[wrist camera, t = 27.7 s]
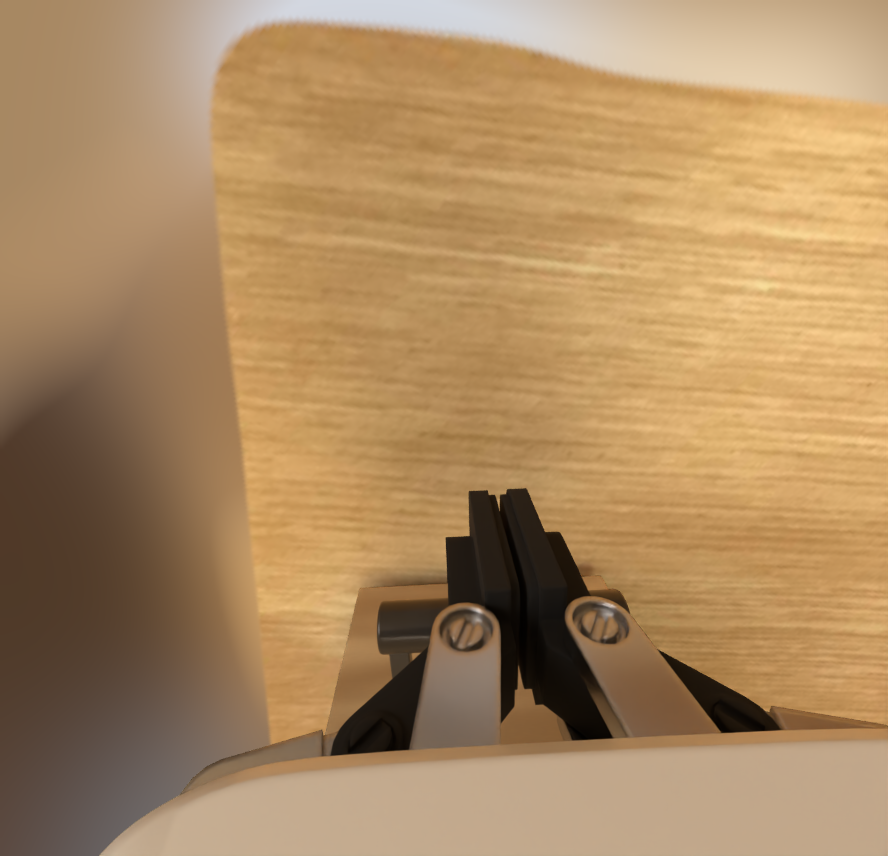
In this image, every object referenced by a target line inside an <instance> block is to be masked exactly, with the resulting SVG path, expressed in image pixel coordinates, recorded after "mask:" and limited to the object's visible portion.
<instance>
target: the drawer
mask: <svg viewBox="0 0 888 856" xmlns="http://www.w3.org/2000/svg"><path fill="white" fill-rule="evenodd" d="M582 578H583V581H584V583H585V585H586V587H587V589H588V591H589V593H590V595H591V596H595V597H601V598H605V599H608V600H610V601H613V602H615V603H617V604H618V605H620V606H621V607H623V608H624V609H625V610H626V611H627V612H628V613H629V614H630V612H629V608H628V605H627V603H626V601H625V598H624V597H623V595H622V594H621V592H620V591H618V590H616V589H608V588H607V586H606V584H605V582H604V581H603V579H602V577H601V576H585V577H582ZM447 607H449V606H448V584H430V585H410V586H391V587H371V588H360V589H359V592H358V597H357V601H356V605H355V609H354V614H353V618H352V622H351V626H350V631H349V635H348V639H347V643H346V648H345V652H344V656H343V660H342V664H341V669H340V673H339V677H338V681H337V686H336V690H335V694H334V698H333V703H332V707H331V711H330V715H329V719H328V724H327V728H326V732H325V735H327V734H330V733H334V732H337V731H339V729H340V728H341V726H342V725H343V724H344V723H345V722H346V721H347V720H348V718H349V717H350V716H352V715H353V714H354V713H355V712H356V711H357V710H358V709H359V708H360V707H362V706H363V705H364V704H365V703H366V702H367V701H368V700H369V699H370V698H372V697H373V696H374V695H375V694H376V693H377V692H378V691H379V690H380V689H382V688H383V687H384V686H385V685H386V684H387V683H388V682H389V681H390V680H392V679H393V678H394V677H395V676H396V675H397V674H398V673H399V672H400V671H402V670H403V669H404V668H405V667H406V666H407V665H408V664H409V663H410V662H412V661H413V660H414V659H415V658H416V657H417V656H418V655H419V654H420V653H422V652H423V651H424V650H425V649H426V648H427V647H428V646H429V642H430V637H431V632H432V626H433V624H434V621H435V618H436V617H437V616H438V615H439V613H440V612H441V611H442V610H444V609H446V608H447ZM559 741H564V740H563V738H562V735H561V733H560V731H559V727H558V723H557V715H556V714H555V713H553V712H552V711H551V710H549V709H548V708H547V707H545V706H544V705H535V701H534V697H533V693H532V689H524V687H523V684H522V679H521V674H520V670H519V665H518V689H517V690H515V706H514V708H513V709H512V710H511V712H510V713H509V714H508V715H507V717H506V718H505V719H504V721H503V722H502V723H501V745H504V744H522V743H540V742H559Z"/></svg>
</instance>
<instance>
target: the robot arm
mask: <svg viewBox="0 0 888 856" xmlns="http://www.w3.org/2000/svg"><path fill="white" fill-rule="evenodd" d="M469 527H470V536H464V537H446V557H447V581H448V606H449V607H447V608H446V609H444V610H442V611H441V612H440V613H439V615H438V616H437V617H436V618H435V621H434V624H433V626H432V632H431V637H430V642H429V646H428V647H427V648H426V649H425V650H424V651H423V652H422V653H420V654H419V655H418V656H417V657H416V658H415V659H414V660H413V661H412V662H410V663H409V664H408V665H407V666H406V667H405V668H404V669H403V670H402V671H400V672H399V673H398V674H397V675H396V676H395V677H394V678H393V679H392V680H390V681H389V682H388V683H387V684H386V685H385V686H384V687H383V688H382V689H380V690H379V691H378V692H377V693H376V694H375V695H374V696H373V697H372V698H370V699H369V700H368V701H367V702H366V703H365V704H364V705H363V706H362V707H360V708H359V709H358V710H357V711H356V712H355V713H354V714H353V715H352V716H350V717H349V718H348V720H347V721H346V722H345V723H344V724H343V725H342V726H341V728H340V729H339V731H337V732H334V733H330V734H327V735H324V736H323V732H322V730H319V731H316V732H313V733H309V734H306V735H303V736H299V737H296V738H292V739H289V740H286V741H282V742H279V743H275V744H272V745H269V746H265V747H262V748H259V749H255V750H252V751H249V752H245V753H242V754H238V755H235V756H231V757H228V758H225V759H221V760H219V761H217V762H215V763H213V764H211V765H209V766H207V767H205V768H204V769H203V770H202V771H201V772H199V773H198V774H197V775H196V776H195V777H193V778H192V779H191V781H190V782H189V784H188V785H187V786H186V787H185V788H184V790H183V791H182V792H181V794H180V796H178V797H175V798H174V799H172V800H170V801H168V802H167V803H165V804H163V805H161V806H160V807H158V808H156V809H154V810H153V811H151V812H150V813H148V814H147V815H146V816H144V817H142V818H141V819H139V820H138V821H136V822H135V823H134V824H133V825H131V826H130V827H129V828H128V829H126V830H125V831H124V832H123V833H122V834H120V835H119V836H118V837H117V838H116V839H115V840H114V841H113V842H112V843H111V844H110V845H109V846H108V847H107V848H106V849H105V850H104V851H103V852H102V853H101V854H100V855H99V856H888V726H887V725H884V724H878V723H872V722H866V721H860V720H854V719H848V718H841V717H835V716H829V715H823V714H817V713H811V712H805V711H799V710H793V709H787V708H781V707H775V706H771V709H770V712H766V711H764V710H763V709H762V708H761V707H760V706H758V705H757V704H755V703H754V702H752V701H751V700H749V699H748V698H746V697H745V696H743V695H741V694H739V693H737V692H735V691H733V690H732V689H730V688H728V687H726V686H724V685H722V684H720V683H719V682H717V681H715V680H713V679H711V678H709V677H708V676H706V675H704V674H702V673H700V672H698V671H696V670H695V669H693V668H691V667H689V666H687V665H685V664H684V663H682V662H680V661H678V660H676V659H674V658H672V657H671V656H669V655H667V654H665V653H663V652H661V651H660V650H658V649H656V647H655V646H654V645H653V643H652V642H651V641H650V639H649V638H648V637H647V635H646V634H645V633H644V632H643V630H642V629H641V628H640V626H639V625H638V624H637V622H636V621H635V620H634V618H633V617H632V616H631V615H630V614H629V613H628V612H627V611H626V610H625V609H624V608H623V607H621V606H620V605H618V604H617V603H615V602H613V601H610V600H608V599H605V598H601V597H595V596H591V595H590V593H589V591H588V589H587V587H586V585H585V583H584V581H583V578H582V576H581V574H580V572H579V570H578V568H577V566H576V564H575V562H574V560H573V558H572V556H571V553H570V551H569V549H568V547H567V545H566V543H565V541H564V539H563V537H562V535H561V533H560V532H545V531H544V529H543V526H542V524H541V522H540V519H539V517H538V514H537V512H536V510H535V507H534V505H533V503H532V500H531V498H530V495H529V493H528V491H527V489H526V488H523V489H507V492H506V494H502V495H500V511H499V507H498V504H497V500H496V496H495V495H489V494H488V491H487V490H484V491H469ZM518 665H519V670H520V674H521V679H522V684H523V687H524V689H532V693H533V697H534V701H535V705H544V706H545V707H547V708H548V709H549V710H551V711H552V712H553V713H555V714H556V715H557V723H558V727H559V731H560V733H561V735H562V738H563V740H564V741H559V742H540V743H522V744H504V745H501V723H502V722H503V721H504V719H505V718H506V717H507V715H508V714H509V713H510V712H511V710H512V709H513V708H514V706H515V690H517V689H518Z"/></svg>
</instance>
